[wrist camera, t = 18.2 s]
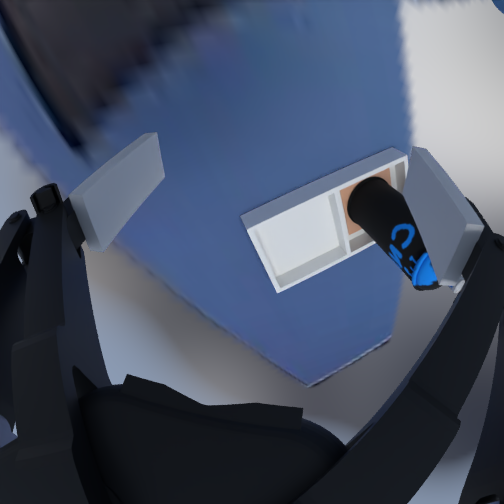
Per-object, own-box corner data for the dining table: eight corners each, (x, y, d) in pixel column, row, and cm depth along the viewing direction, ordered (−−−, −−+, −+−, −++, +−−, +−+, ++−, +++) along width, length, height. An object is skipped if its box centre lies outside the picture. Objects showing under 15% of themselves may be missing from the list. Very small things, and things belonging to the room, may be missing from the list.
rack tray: (392, 146, 39) (407, 155, 36) (398, 214, 47) (410, 224, 44) (239, 216, 39) (246, 229, 37) (270, 279, 48) (277, 294, 45)
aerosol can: (391, 171, 40) (491, 247, 24) (388, 216, 45) (470, 297, 30) (346, 182, 39) (445, 272, 24) (346, 230, 44) (426, 324, 29)
